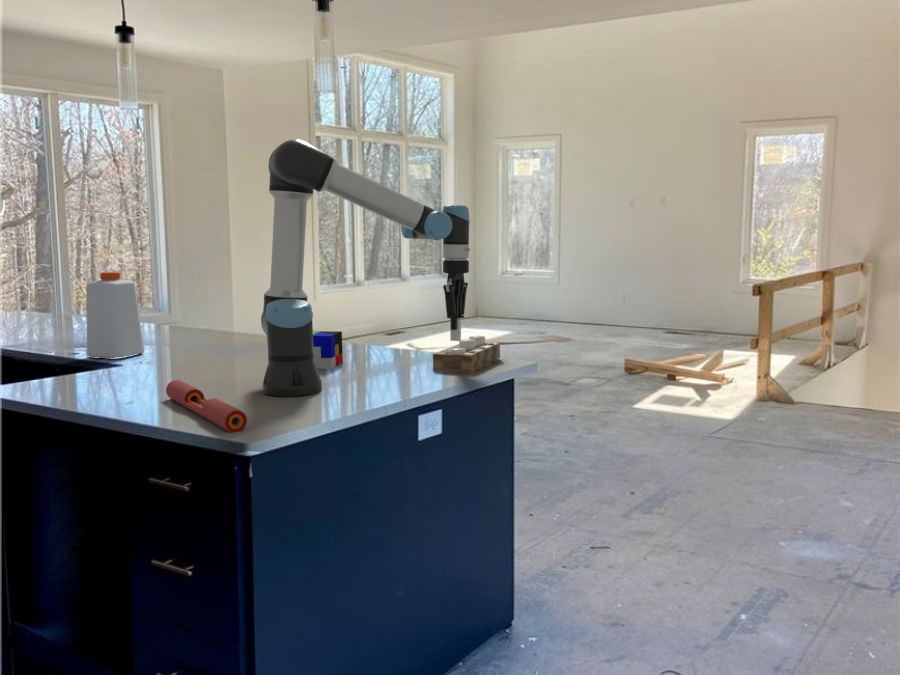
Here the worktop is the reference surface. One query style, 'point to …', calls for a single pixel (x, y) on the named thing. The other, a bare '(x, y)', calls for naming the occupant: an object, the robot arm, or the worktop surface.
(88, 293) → the plastic bottle
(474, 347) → the middle button
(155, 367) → the worktop surface
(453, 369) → the button panel
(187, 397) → the blood vessel
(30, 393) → the worktop surface
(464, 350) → the left button
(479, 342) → the right button
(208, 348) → the worktop surface
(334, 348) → the puzzle toy
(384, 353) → the worktop surface
